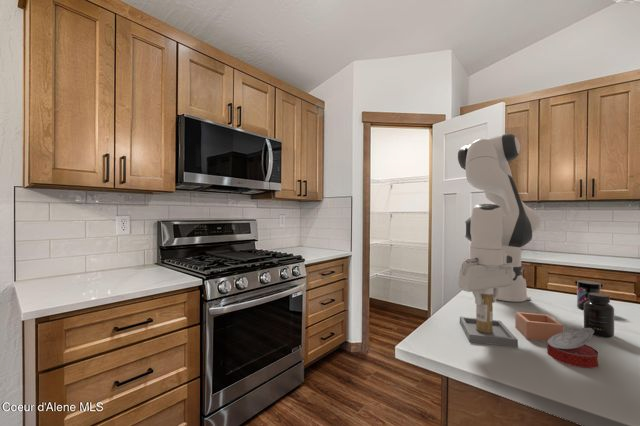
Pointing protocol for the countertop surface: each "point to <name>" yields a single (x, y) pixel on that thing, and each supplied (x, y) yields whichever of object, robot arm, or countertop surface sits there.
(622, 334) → the countertop surface
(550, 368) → the countertop surface
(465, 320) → the charcoal tray
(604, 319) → the supplement bottle
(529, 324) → the terracotta holder
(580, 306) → the supplement container
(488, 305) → the sprinkles bottle
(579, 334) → the canned food
